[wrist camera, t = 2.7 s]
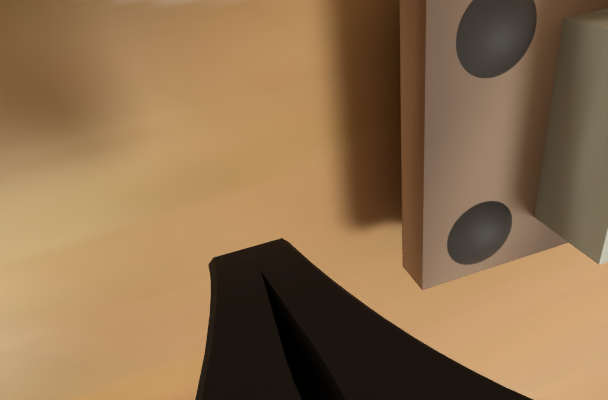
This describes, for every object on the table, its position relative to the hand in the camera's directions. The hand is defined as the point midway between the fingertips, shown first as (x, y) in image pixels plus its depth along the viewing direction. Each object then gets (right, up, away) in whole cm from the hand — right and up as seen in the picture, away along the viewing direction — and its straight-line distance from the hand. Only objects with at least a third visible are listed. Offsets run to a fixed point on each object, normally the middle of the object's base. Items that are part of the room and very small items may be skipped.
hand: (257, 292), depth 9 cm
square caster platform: (+8, +5, +7) cm, 12 cm away
